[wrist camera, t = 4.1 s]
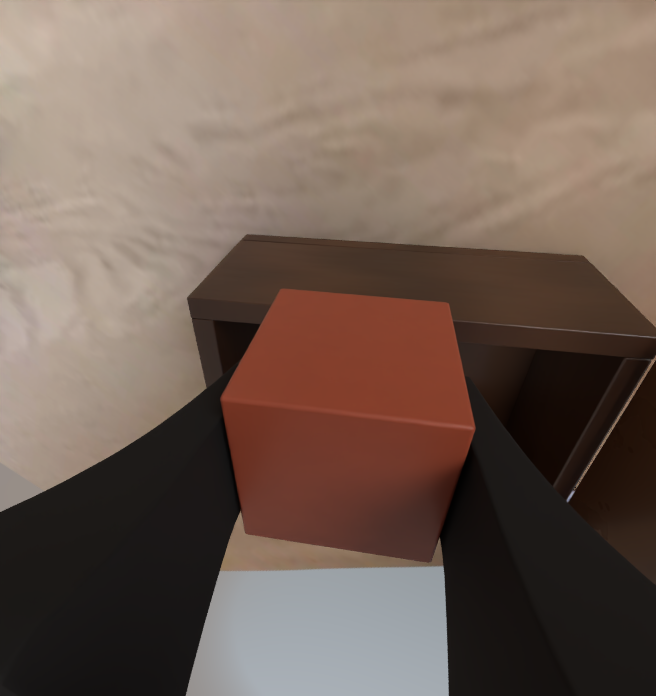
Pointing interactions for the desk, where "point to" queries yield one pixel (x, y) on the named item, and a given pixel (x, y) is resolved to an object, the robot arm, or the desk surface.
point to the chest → (463, 328)
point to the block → (349, 423)
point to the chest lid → (626, 483)
